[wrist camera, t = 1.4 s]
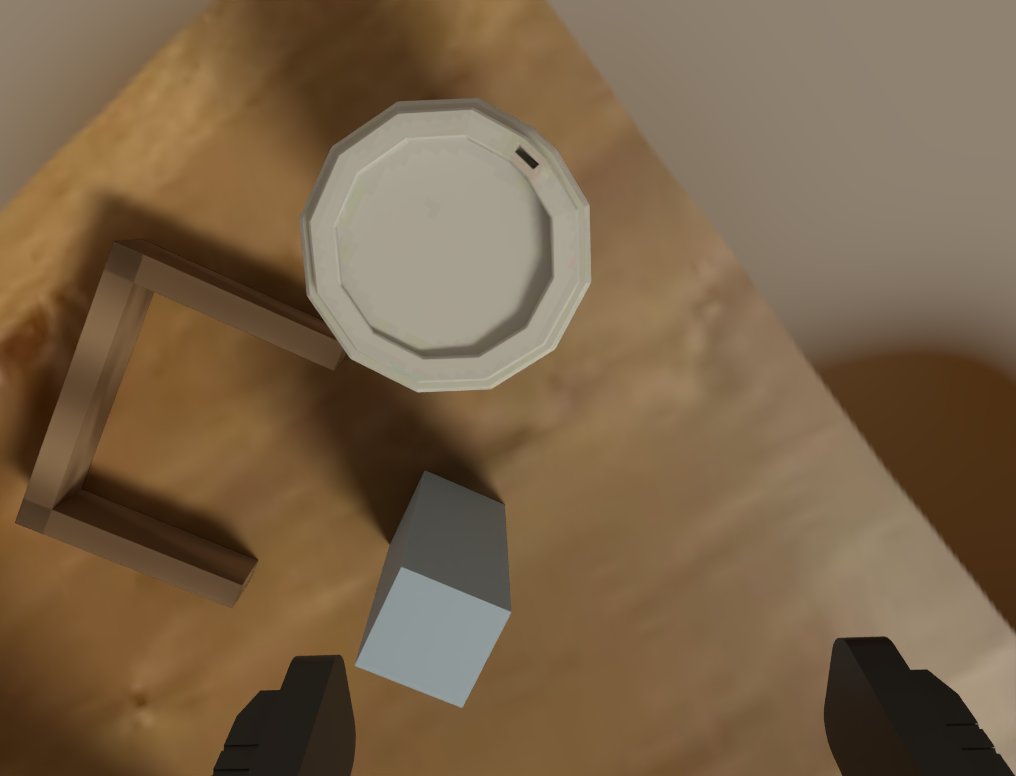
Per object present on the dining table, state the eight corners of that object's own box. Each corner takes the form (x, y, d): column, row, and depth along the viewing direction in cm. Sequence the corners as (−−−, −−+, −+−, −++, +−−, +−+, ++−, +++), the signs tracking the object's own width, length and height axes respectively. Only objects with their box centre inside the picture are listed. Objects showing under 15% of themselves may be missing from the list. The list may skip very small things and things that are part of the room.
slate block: (468, 577, 45) (462, 708, 33) (389, 544, 44) (354, 665, 32) (504, 504, 44) (511, 612, 32) (424, 470, 43) (401, 566, 31)
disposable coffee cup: (467, 379, 42) (457, 469, 27) (315, 244, 40) (216, 263, 25) (602, 233, 40) (667, 246, 26) (449, 87, 38) (425, 10, 24)
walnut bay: (248, 582, 44) (232, 608, 41) (46, 501, 43) (14, 522, 40) (355, 334, 41) (344, 344, 38) (141, 238, 40) (113, 241, 37)
